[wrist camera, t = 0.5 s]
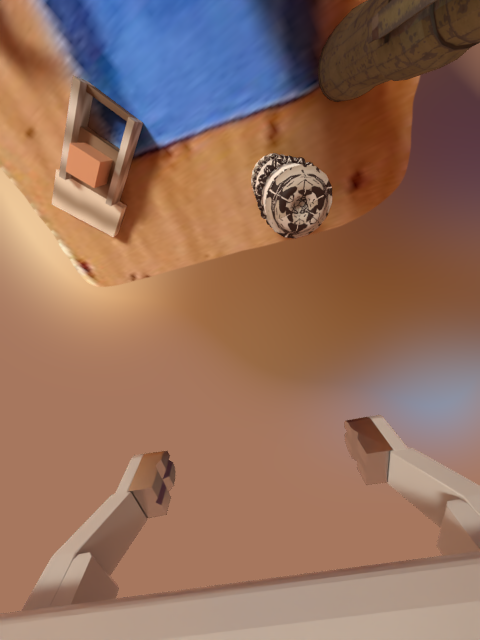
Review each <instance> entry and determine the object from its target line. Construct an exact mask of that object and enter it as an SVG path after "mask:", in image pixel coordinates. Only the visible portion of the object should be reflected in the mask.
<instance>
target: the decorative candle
mask: <svg viewBox="0 0 480 640" xmlns="http://www.w3.org/2000/svg"><path fill="white" fill-rule="evenodd" d="M251 183H252V188H253V191H254V195H255V196H256V199H257V202H258V208H259V209H260V210H261V216H262V218H264V219H266V222H267V224H268V225H270V227H271V228H273V230H274V231H275V232H277V233H278V234H280V235H281V236H283V237H288V238H299V237H303V236H306V235H308V234H310V233H311V232H313V231H314V230H316V229H317V228H319V226H320V225H321V224H322V222H323V221H324V220H325V218H326V217H327V215H328V212H329V210H330V207H331V204H332V186H331V184H330V182H329V179H328V177H327V175H326V174H325V173H324V172H322V171H321V170H320V169H319V168H317V167H316V166H314V165H313V164H312V163H310V162H308V163H305V159H304V158H301V157H299V158H296V157H292V156H285V155H278V154H276V153H273V154H269V155H266V156H264V157H263V158H261V159H260V160H259V161H258V162H257V163H256V165H255V167H254V169H253V171H252V178H251Z"/></svg>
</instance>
